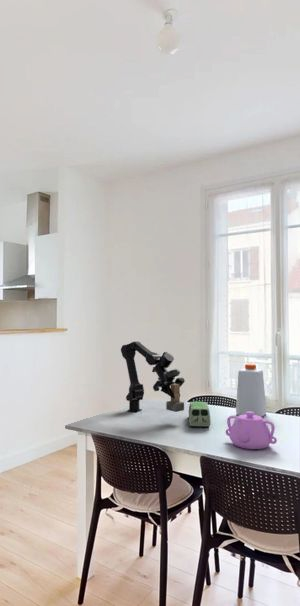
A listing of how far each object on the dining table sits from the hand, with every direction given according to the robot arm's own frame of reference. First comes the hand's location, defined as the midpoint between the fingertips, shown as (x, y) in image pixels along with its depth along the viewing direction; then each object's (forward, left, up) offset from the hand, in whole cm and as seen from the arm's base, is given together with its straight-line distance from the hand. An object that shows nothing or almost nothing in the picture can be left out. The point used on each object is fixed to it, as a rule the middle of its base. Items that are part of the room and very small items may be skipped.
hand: (176, 397), depth 194 cm
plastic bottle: (-38, +28, -13) cm, 49 cm away
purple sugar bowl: (+19, +41, -13) cm, 48 cm away
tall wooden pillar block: (-1, -1, -7) cm, 7 cm away
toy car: (-7, +9, -14) cm, 18 cm away
